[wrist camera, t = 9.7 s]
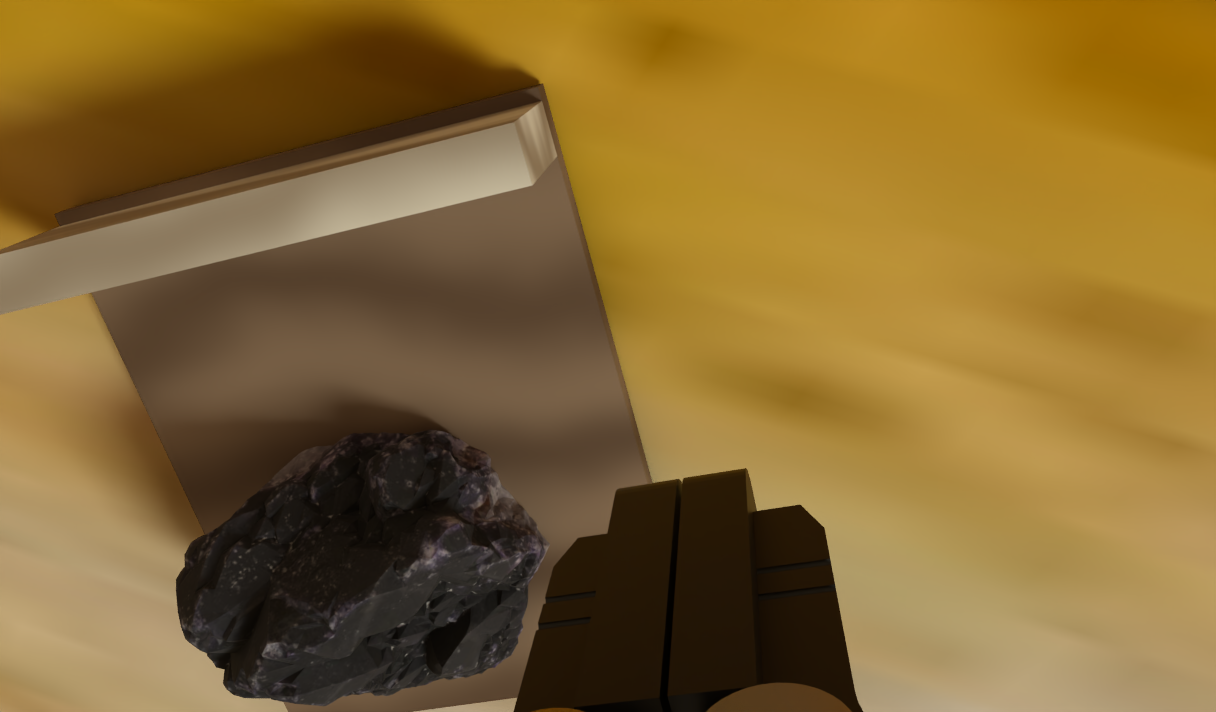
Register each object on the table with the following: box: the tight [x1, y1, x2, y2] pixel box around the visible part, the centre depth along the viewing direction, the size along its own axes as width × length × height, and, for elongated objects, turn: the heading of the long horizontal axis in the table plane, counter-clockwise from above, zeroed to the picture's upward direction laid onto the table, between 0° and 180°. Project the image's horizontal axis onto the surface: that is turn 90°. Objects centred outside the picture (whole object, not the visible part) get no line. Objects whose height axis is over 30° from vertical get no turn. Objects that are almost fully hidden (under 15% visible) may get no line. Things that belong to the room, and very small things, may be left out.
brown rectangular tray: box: [0, 84, 652, 712], centre depth 38 cm, size 26×20×6 cm
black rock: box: [176, 429, 550, 706], centre depth 39 cm, size 13×14×10 cm
